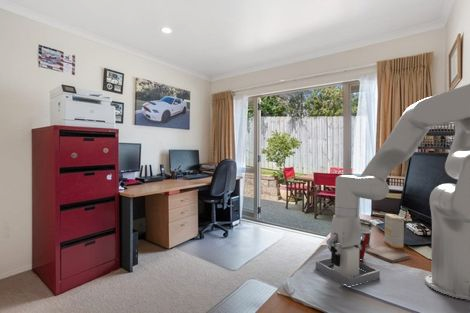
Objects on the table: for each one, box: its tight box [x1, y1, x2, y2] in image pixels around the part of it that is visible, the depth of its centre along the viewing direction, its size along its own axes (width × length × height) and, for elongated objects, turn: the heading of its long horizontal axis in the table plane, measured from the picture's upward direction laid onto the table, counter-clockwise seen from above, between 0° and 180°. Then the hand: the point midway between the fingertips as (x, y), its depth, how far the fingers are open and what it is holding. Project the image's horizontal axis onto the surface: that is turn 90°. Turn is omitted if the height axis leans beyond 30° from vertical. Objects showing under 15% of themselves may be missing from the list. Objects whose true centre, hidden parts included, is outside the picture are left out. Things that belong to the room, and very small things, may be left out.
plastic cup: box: [360, 227, 372, 260], centre depth 95 cm, size 11×11×12 cm
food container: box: [360, 218, 374, 246], centre depth 113 cm, size 12×6×10 cm, turn 65°
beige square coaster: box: [365, 245, 411, 264], centre depth 97 cm, size 11×11×1 cm
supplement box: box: [384, 213, 405, 249], centre depth 109 cm, size 8×5×13 cm, turn 168°
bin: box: [315, 257, 381, 287], centre depth 82 cm, size 14×14×2 cm
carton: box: [333, 246, 360, 279], centre depth 82 cm, size 6×6×9 cm
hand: (345, 262), depth 82 cm, fingers open, 9 cm apart
